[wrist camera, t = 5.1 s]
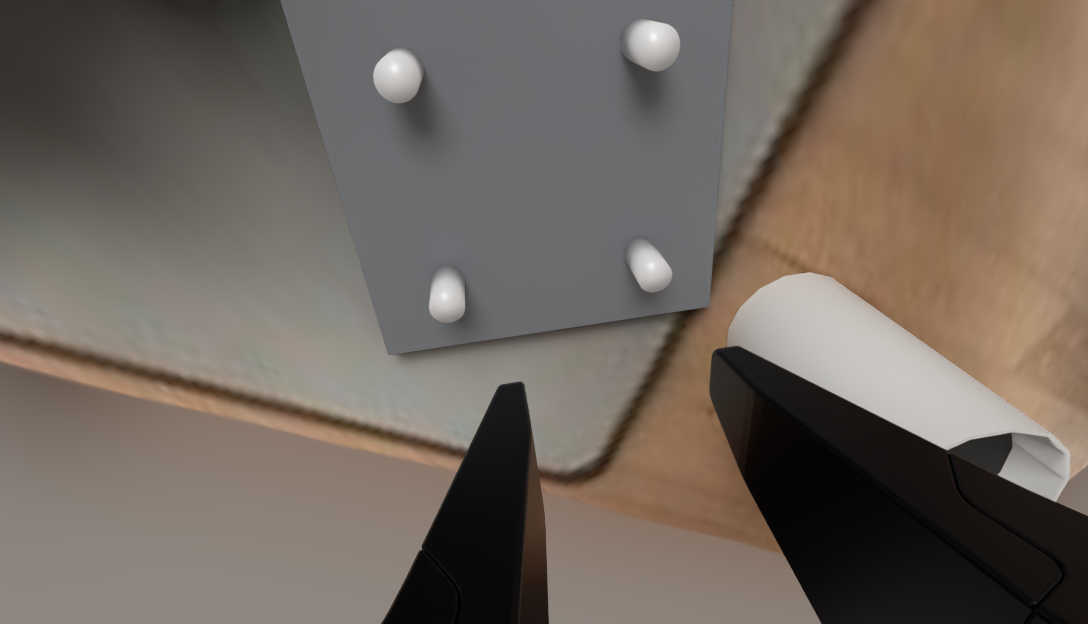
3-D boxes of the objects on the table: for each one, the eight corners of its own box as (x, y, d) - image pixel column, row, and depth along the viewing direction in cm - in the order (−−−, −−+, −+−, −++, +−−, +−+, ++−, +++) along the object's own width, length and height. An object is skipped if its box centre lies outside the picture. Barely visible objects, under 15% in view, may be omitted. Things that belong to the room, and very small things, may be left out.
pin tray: (725, -83, 16) (773, -94, 14) (700, 294, 23) (729, 333, 21) (280, -34, 15) (244, -37, 13) (391, 340, 22) (382, 387, 20)
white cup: (793, 403, 27) (943, 594, 19) (688, 361, 25) (804, 557, 17) (890, 296, 24) (1116, 464, 16) (781, 239, 22) (978, 399, 14)
